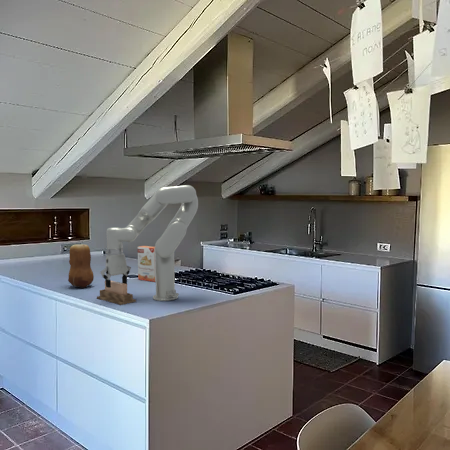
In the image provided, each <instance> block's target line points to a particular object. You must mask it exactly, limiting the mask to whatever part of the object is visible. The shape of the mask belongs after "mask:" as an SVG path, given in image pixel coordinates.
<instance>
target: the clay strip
mask: <svg viewBox="0 0 450 450" xmlns="http://www.w3.org/2000/svg"><path fill="white" fill-rule="evenodd" d="M104 289H105V291H107V292H111V293H115V294H119V295H123V296H125V295H127V293H128V283H127V284H124V283H122V282H119V281H114V280H111V287H110V288H108V287H106V281H105V280H104Z"/></svg>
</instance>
